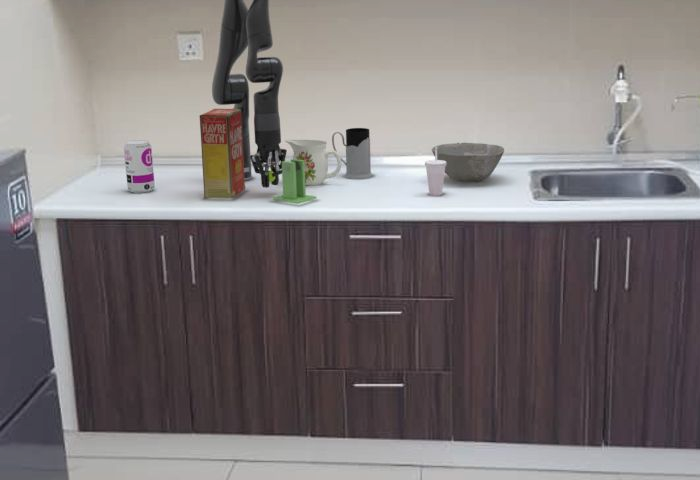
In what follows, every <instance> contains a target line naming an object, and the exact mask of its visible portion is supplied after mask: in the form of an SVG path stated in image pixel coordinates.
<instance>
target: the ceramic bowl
mask: <svg viewBox="0 0 700 480" xmlns="http://www.w3.org/2000/svg"><path fill="white" fill-rule="evenodd" d="M435 147H437V160H443V161H446V166H445V173H444V174H445V175H446V176H448V177H449V178H450V179H452V180H453V181H458V182H471V183H472V182H473V183H474V182H475V183H478V182H483V181H485V180H487V179H488V178H489V177H490V176H491V175H492V174H493V173H494V171H495V169H496V168H497V166H498V164H499V163H500V162H501V159H502V157H503V155H504V153H505V148H504V146H501V145H498V144H489V143H481V142H480V143H479V142H478V143H477V142H475V143H474V142H456V143H444V144H442V143H441V144H439V145H435V146H433V147H432V148H431V152H432V155H433V156H434V157H435Z"/></svg>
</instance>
